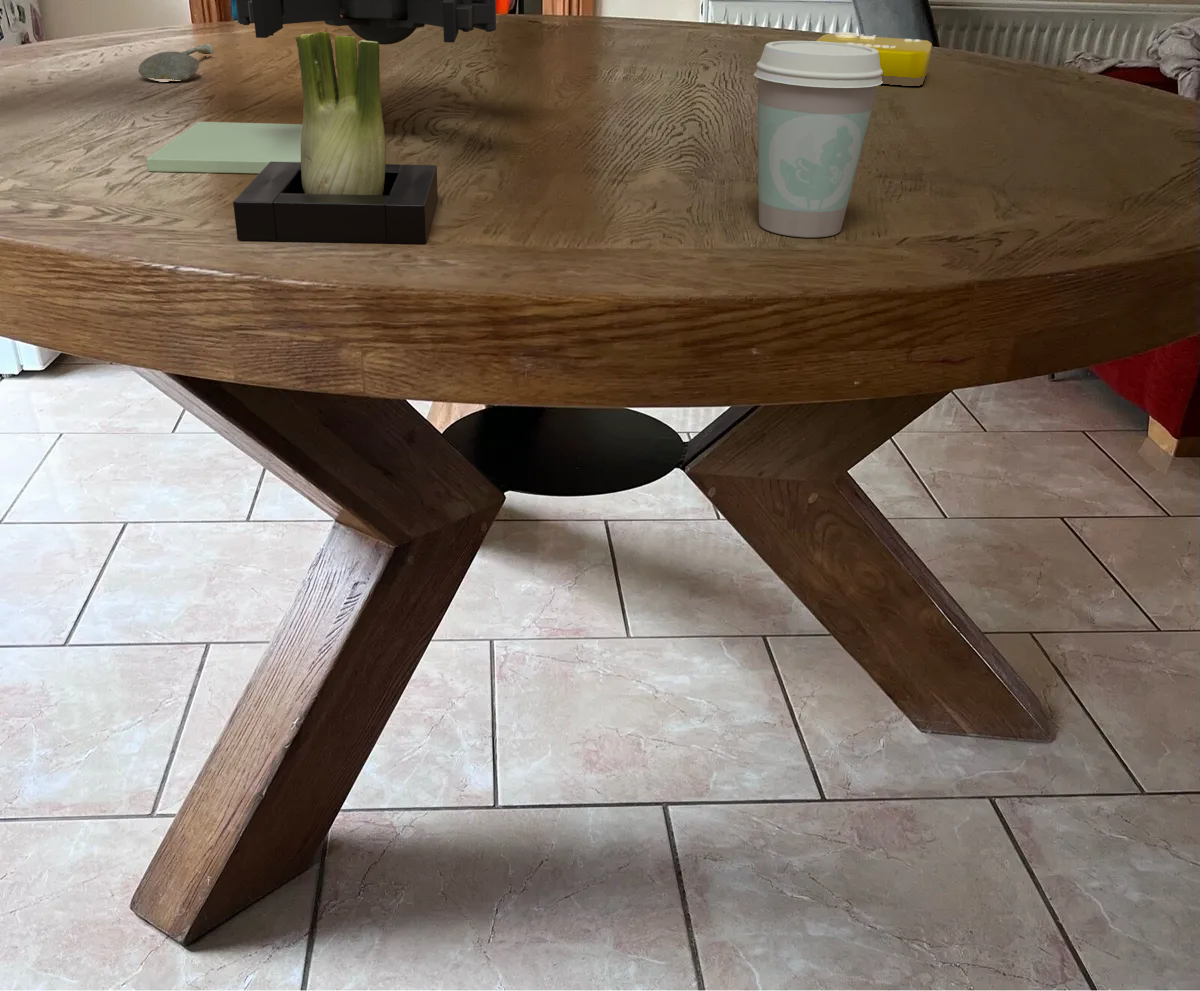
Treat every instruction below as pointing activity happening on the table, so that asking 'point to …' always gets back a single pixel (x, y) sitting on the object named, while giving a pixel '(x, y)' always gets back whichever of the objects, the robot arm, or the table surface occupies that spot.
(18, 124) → the table surface
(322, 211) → the frame
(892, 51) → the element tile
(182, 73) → the soupspoon
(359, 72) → the fennel bulb
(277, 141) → the board
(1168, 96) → the table surface
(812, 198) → the coffee cup
